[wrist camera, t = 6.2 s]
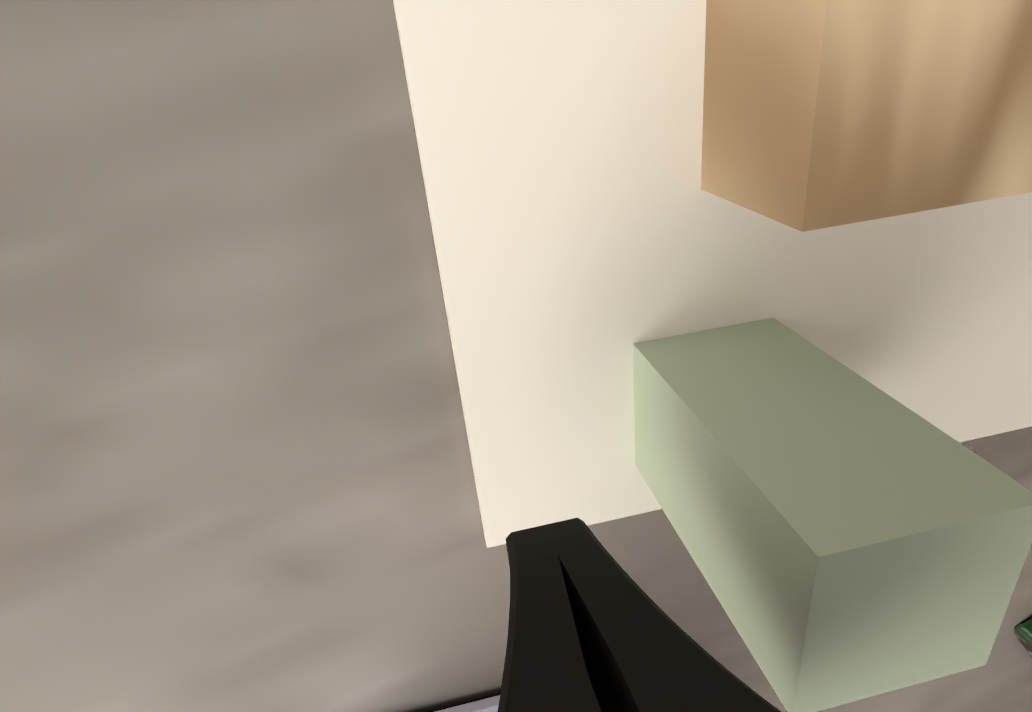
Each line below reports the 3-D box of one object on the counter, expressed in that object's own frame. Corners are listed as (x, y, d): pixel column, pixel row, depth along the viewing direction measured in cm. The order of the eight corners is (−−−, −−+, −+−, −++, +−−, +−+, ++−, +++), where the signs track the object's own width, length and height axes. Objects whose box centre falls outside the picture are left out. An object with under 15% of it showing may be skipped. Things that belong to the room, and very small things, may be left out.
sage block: (761, 438, 17) (985, 665, 10) (635, 465, 16) (791, 718, 10) (773, 317, 15) (1048, 501, 9) (632, 343, 14) (818, 557, 8)
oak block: (700, 189, 13) (987, 143, 14) (801, 232, 10) (1164, 169, 11) (706, -5, 11) (1032, -43, 12) (830, -27, 8) (1255, -76, 9)
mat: (1023, 416, 19) (1038, 424, 19) (484, 534, 17) (486, 547, 16) (1211, -156, 13) (1240, -164, 12) (379, -81, 10) (379, -87, 10)
